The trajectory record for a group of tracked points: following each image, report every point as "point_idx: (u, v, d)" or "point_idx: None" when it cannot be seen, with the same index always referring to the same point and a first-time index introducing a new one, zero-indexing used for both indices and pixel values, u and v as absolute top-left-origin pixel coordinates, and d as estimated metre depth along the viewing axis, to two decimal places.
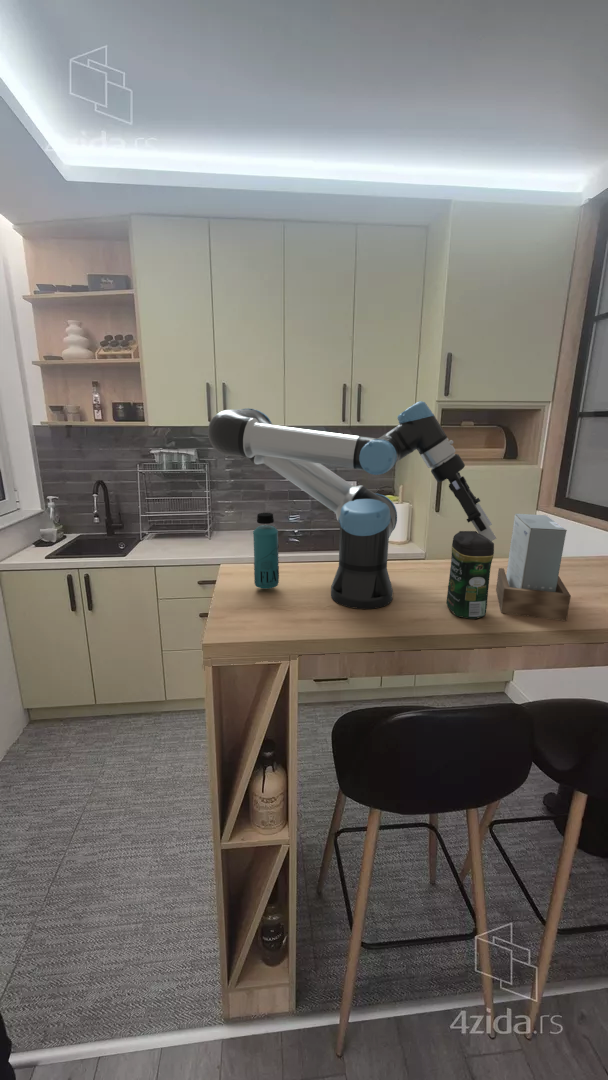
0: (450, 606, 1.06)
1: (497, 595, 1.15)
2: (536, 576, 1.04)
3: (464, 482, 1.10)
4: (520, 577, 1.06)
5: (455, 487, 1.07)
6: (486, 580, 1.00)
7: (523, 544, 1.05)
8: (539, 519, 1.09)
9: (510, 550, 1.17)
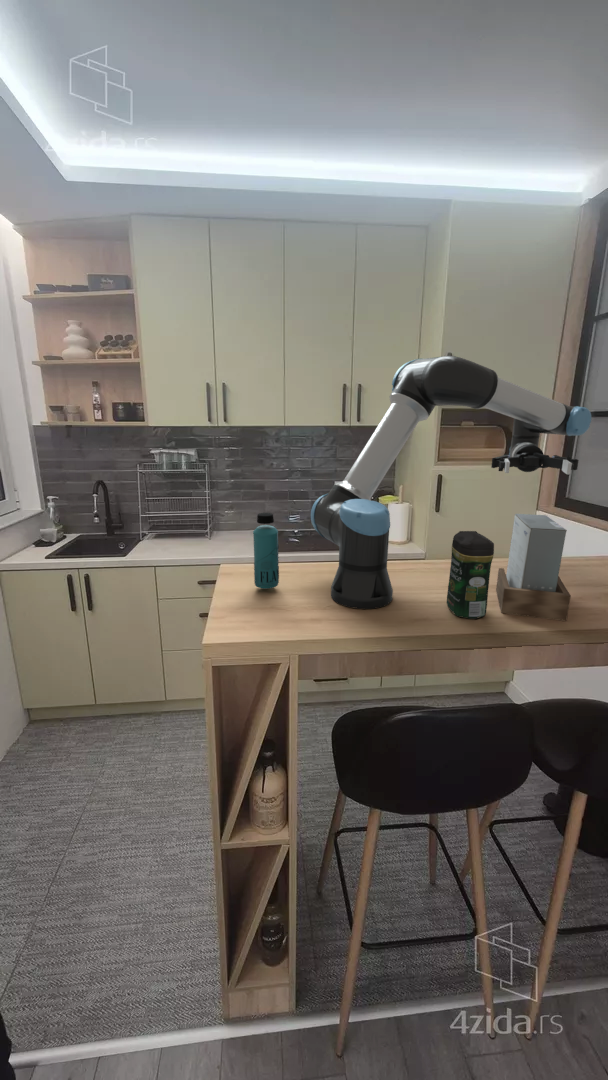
0: (450, 606, 1.06)
1: (497, 595, 1.15)
2: (536, 576, 1.04)
3: None
4: (520, 577, 1.06)
5: None
6: (486, 580, 1.00)
7: (523, 544, 1.05)
8: (539, 519, 1.09)
9: (510, 550, 1.17)
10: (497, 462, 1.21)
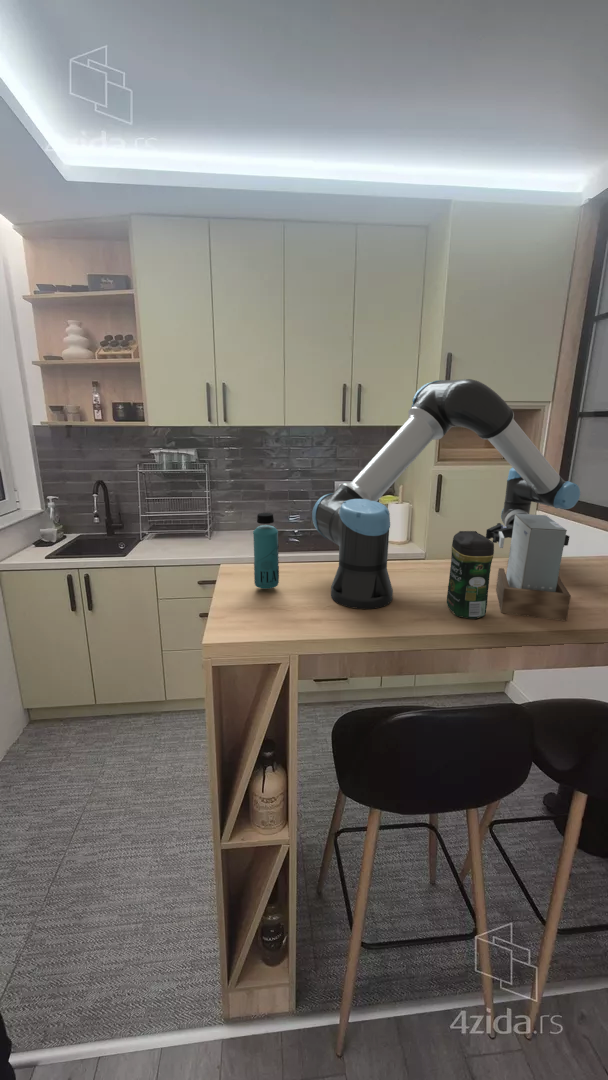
0: (450, 606, 1.06)
1: (497, 595, 1.15)
2: (536, 576, 1.04)
3: None
4: (520, 577, 1.06)
5: None
6: (486, 580, 1.00)
7: (523, 544, 1.05)
8: (539, 519, 1.09)
9: (510, 550, 1.17)
10: (491, 534, 1.25)
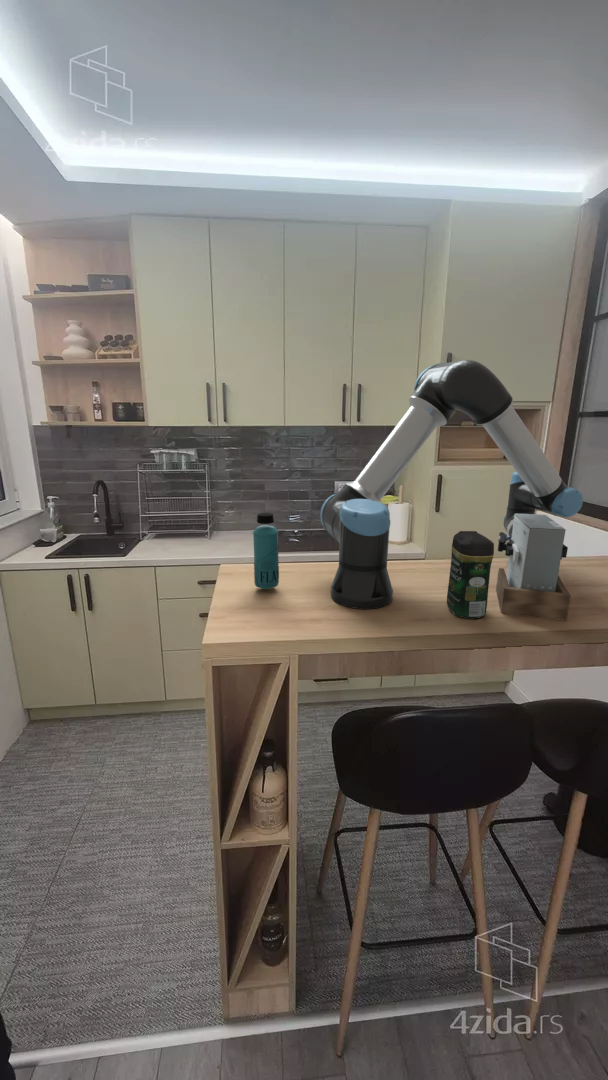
0: (450, 606, 1.06)
1: (497, 595, 1.15)
2: (536, 575, 1.04)
3: None
4: (520, 577, 1.06)
5: None
6: (486, 580, 1.00)
7: (522, 544, 1.06)
8: (538, 519, 1.09)
9: None
10: (504, 546, 1.13)
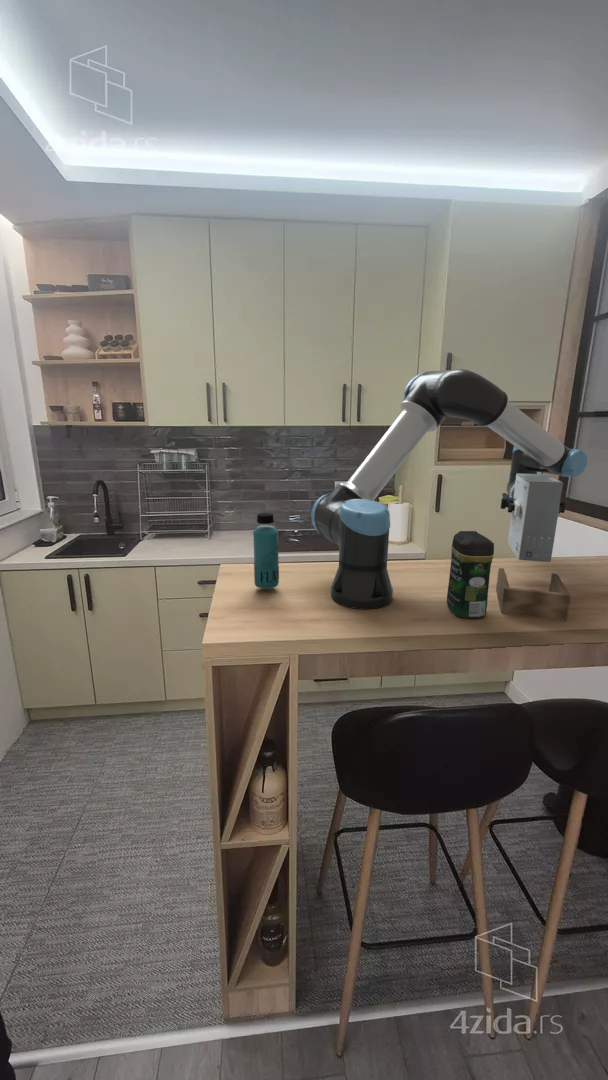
0: (450, 606, 1.06)
1: (497, 595, 1.15)
2: (536, 527, 1.12)
3: None
4: (521, 529, 1.14)
5: None
6: (486, 580, 1.00)
7: (523, 498, 1.14)
8: (538, 476, 1.17)
9: None
10: (506, 503, 1.22)
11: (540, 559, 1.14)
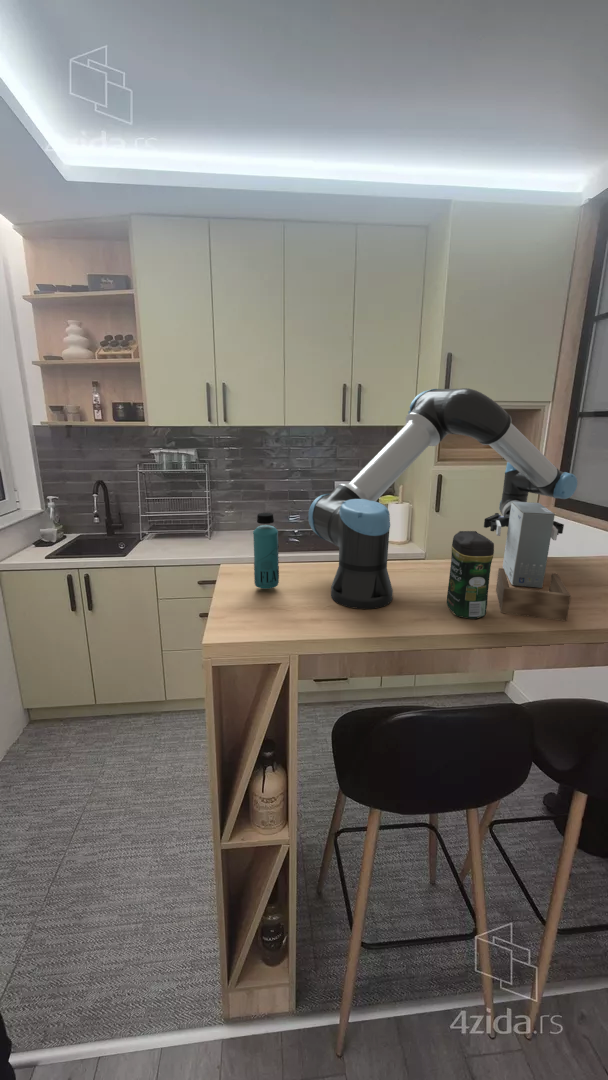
0: (450, 606, 1.06)
1: (497, 595, 1.15)
2: (528, 555, 1.18)
3: None
4: (514, 556, 1.20)
5: None
6: (486, 580, 1.00)
7: (517, 527, 1.20)
8: (532, 506, 1.23)
9: (507, 534, 1.31)
10: (489, 523, 1.30)
11: (532, 585, 1.20)
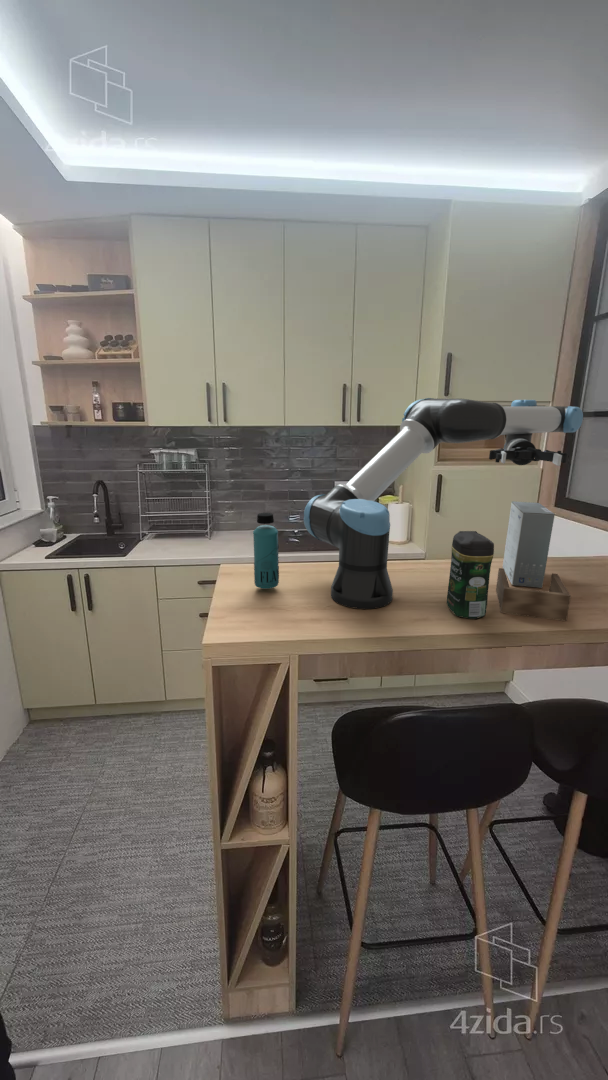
0: (450, 606, 1.06)
1: (497, 595, 1.15)
2: (528, 555, 1.18)
3: None
4: (514, 556, 1.20)
5: None
6: (486, 580, 1.00)
7: (517, 527, 1.20)
8: (532, 506, 1.23)
9: (507, 534, 1.31)
10: (494, 454, 1.33)
11: (532, 585, 1.20)
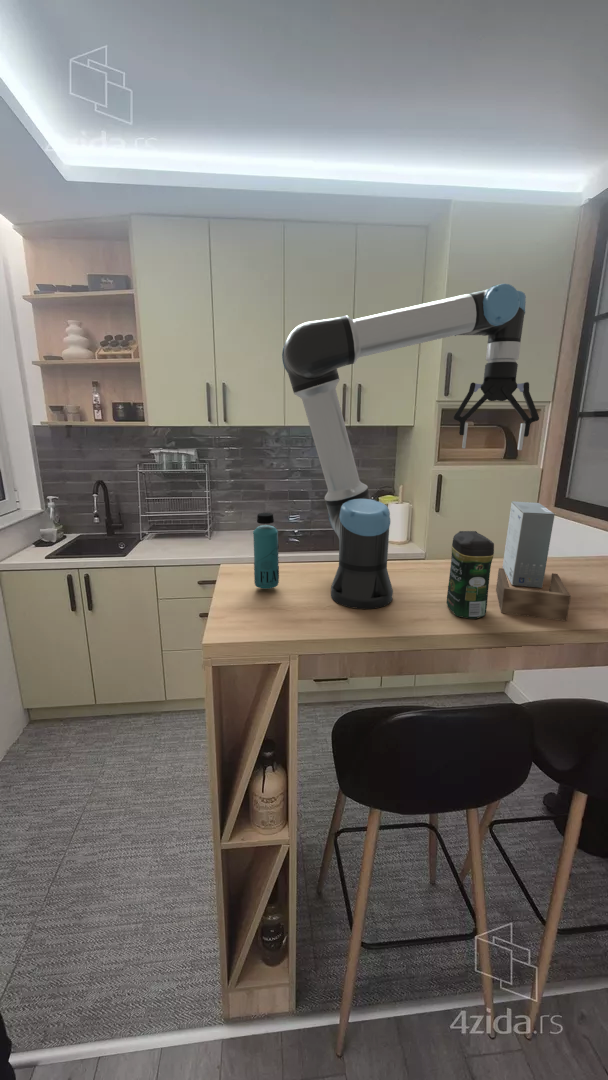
0: (450, 606, 1.06)
1: (497, 595, 1.15)
2: (528, 555, 1.18)
3: None
4: (514, 556, 1.20)
5: (528, 387, 1.13)
6: (486, 580, 1.00)
7: (517, 527, 1.20)
8: (532, 506, 1.23)
9: (507, 534, 1.31)
10: None
11: (532, 585, 1.20)
